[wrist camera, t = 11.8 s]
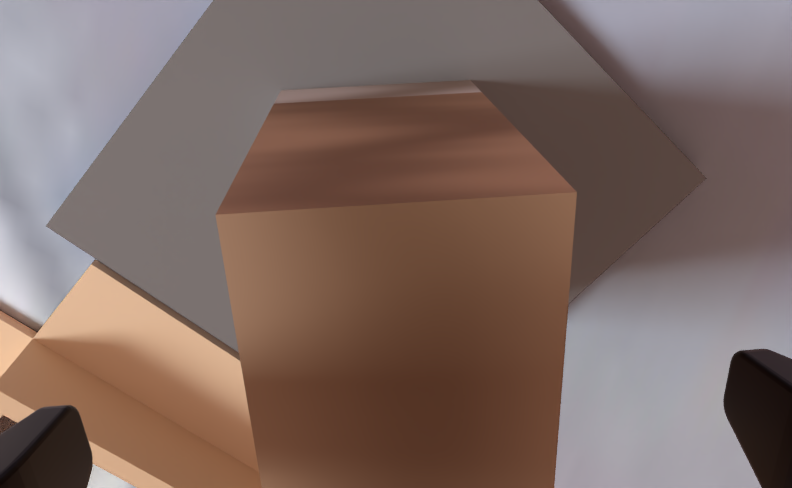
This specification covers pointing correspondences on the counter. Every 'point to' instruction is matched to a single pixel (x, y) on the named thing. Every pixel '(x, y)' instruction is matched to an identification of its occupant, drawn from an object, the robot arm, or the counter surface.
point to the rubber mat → (343, 67)
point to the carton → (135, 386)
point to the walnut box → (399, 290)
